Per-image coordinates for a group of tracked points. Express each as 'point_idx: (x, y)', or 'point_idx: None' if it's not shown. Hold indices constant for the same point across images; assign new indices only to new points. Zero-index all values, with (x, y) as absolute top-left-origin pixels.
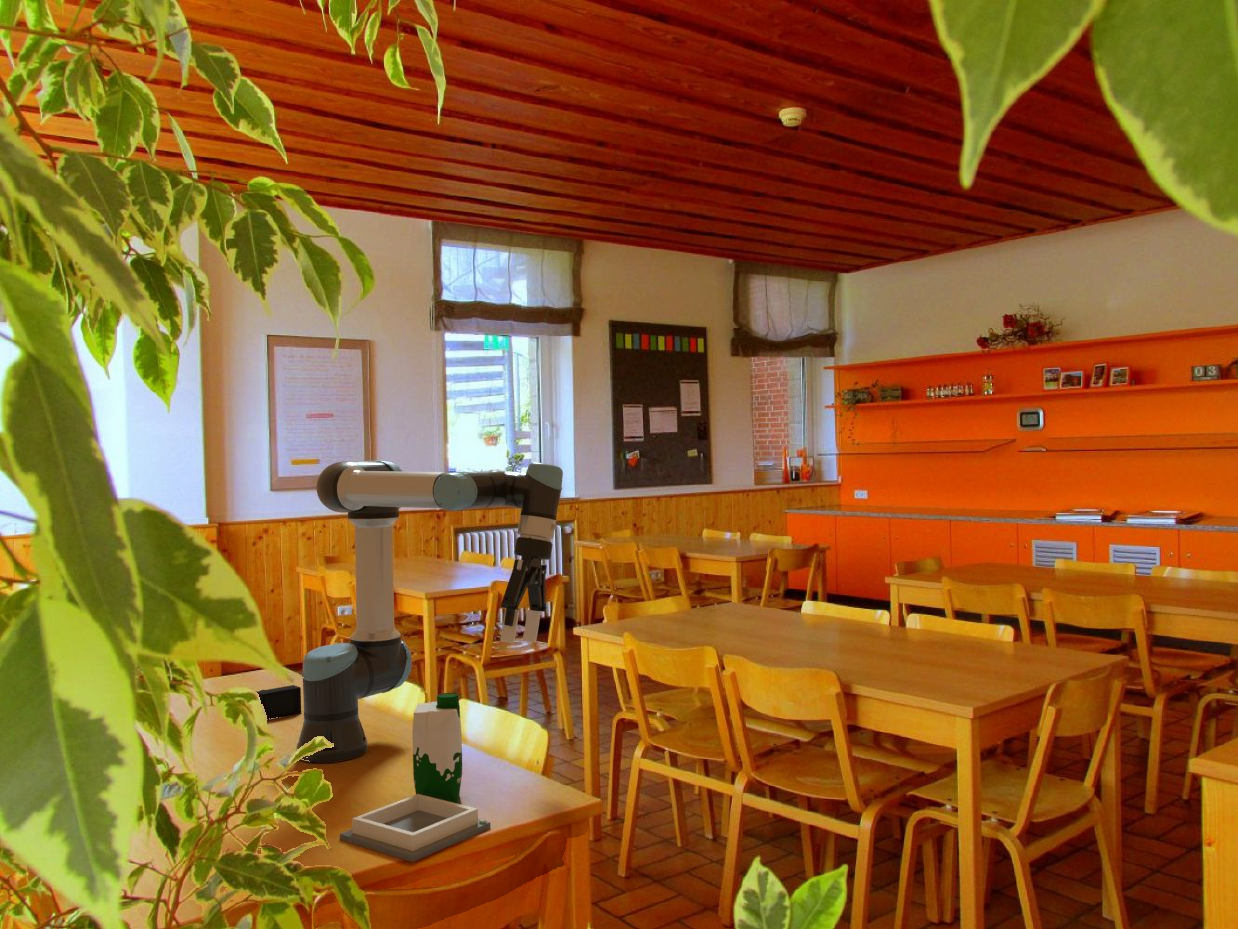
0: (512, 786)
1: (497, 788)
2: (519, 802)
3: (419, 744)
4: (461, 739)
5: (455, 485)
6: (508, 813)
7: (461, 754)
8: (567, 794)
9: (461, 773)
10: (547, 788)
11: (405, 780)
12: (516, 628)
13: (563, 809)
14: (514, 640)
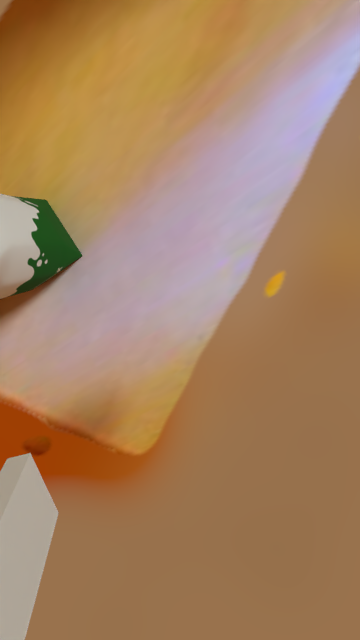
0: (155, 315)
1: (136, 297)
2: (95, 364)
3: None
4: (6, 293)
5: None
6: (50, 372)
7: (17, 292)
8: (155, 411)
9: (34, 287)
10: (168, 372)
11: (103, 101)
12: (29, 613)
13: (98, 433)
14: (51, 530)
